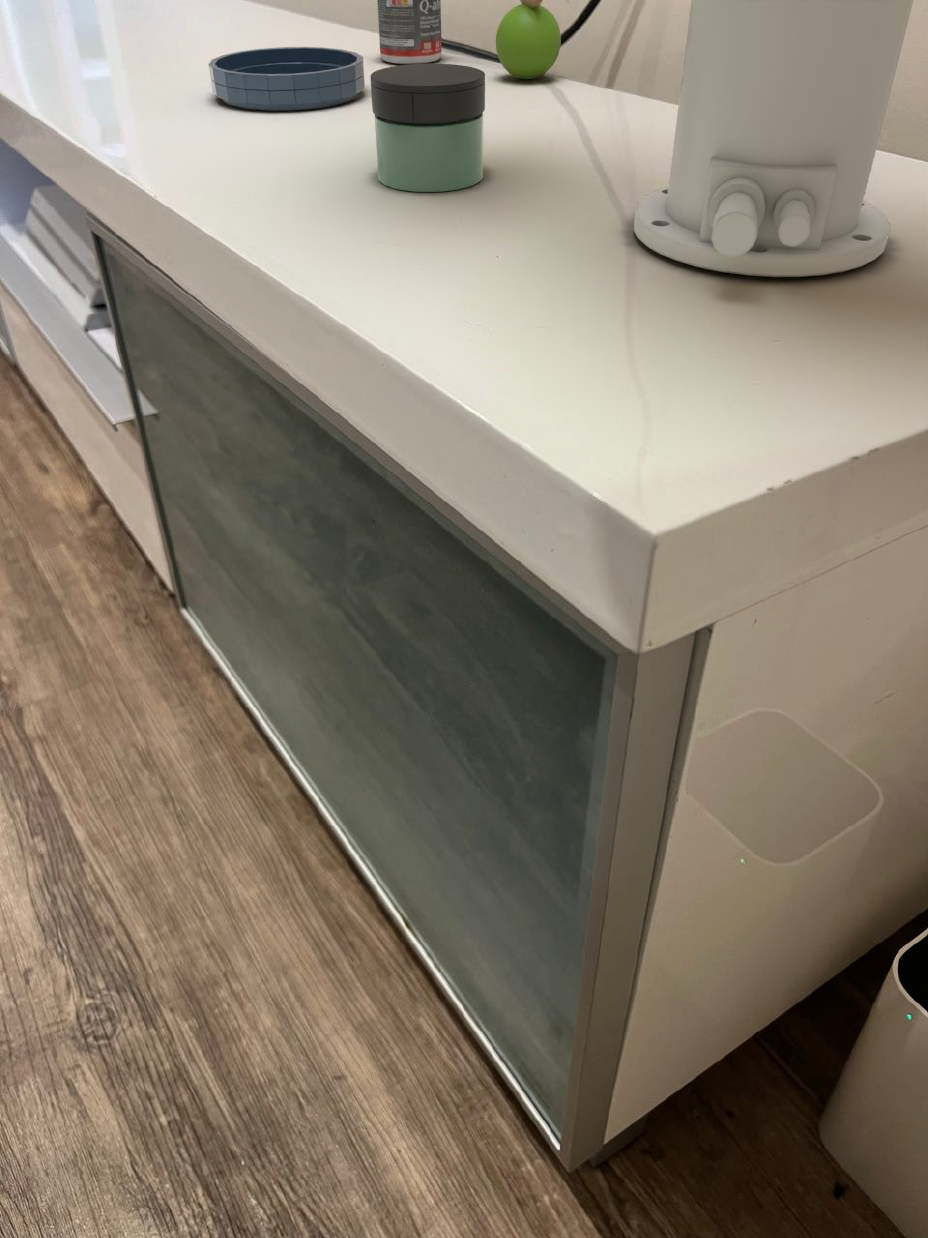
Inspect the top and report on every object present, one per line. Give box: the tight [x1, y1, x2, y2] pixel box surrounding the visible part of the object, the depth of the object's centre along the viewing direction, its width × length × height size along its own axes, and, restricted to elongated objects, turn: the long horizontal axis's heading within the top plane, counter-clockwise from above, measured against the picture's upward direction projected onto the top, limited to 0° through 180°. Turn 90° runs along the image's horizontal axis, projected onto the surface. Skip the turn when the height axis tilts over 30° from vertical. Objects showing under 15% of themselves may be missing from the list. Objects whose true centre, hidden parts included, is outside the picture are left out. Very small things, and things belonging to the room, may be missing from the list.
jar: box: [374, 112, 484, 193], centre depth 56 cm, size 6×6×5 cm
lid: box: [370, 63, 486, 123], centre depth 55 cm, size 7×7×2 cm
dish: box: [208, 46, 366, 112], centre depth 75 cm, size 12×12×2 cm
